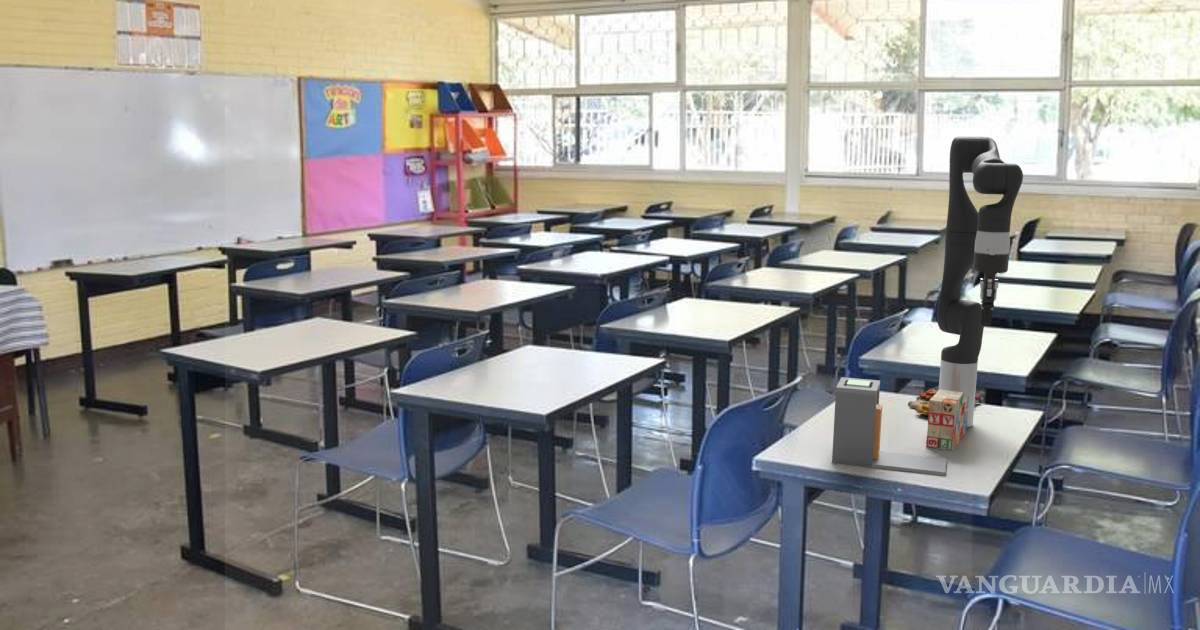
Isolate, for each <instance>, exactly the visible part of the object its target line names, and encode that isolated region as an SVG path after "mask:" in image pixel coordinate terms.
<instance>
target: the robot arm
mask: <svg viewBox="0 0 1200 630" xmlns="http://www.w3.org/2000/svg"><path fill="white" fill-rule="evenodd" d="M964 174H973V175H972V185H973V189H974V190H975V192H977V193H979V194H981V195H1003V196H1002V198H1001V199H1000V200H999V201H998V202H996V203H990V204H984V205H982V206H981V207H979V209H978V210H977V208H976V206H975V204H974V203H973V202H972V200H971V198H970V196H969V194H968V192H967V190H966V189H967V188H966V186H965V181H964ZM948 178H949V180H948V181H949V182H948V183H949V186H948V187H949V189H948V190H949V195H948V209H947V217H946V227H945V238H944V239H945V241H944V258H943V259H944V262H943V273H942V279H941V280H942V281H941V288H940V293H939V299H938V304H937V314H936V321H937V326H938V328H939V330H941V331H942V332H944V333H946V334H947V333H948V334H953V335H958V336H959V340H958V342H957V343H956V344H955V345H949V346H946V347H944V348H942V349H941V354H940V363H939V364H940V366H939V367H940V368H939V380H938V381H939V382H938V387H939V389H940V390H948V391H957V392H964V395H963V396H969V398H968V418H967V428H971V427H973V425H974V416H975V415H974V413H975V405H976V404H975V392H976V393H977V391H976V388H977V378H978V364H979V363H978V362H979V356H980V353H981V351H982V350H981V349H982V346H983V345H982V342H983V337H984V336H983V335H984V327H990V326H991V325H992V318H993V311H994V309H995V301H996V300H997V292H998V291H997V290H998V289H999V284H1000V283H999V281H1000V280H999V279H996V276H997V274H1004V273H1005V274H1006V273H1007V272H1008V270H1009V259H1010V247H1011V245H1010V244H1011V235H1010V234H1011V223H1012V222H1011V220H1012V214H1013V208H1014V204H1015V201H1016V200H1017V196H1018V194H1019V191H1020V189H1021V187H1022V184H1023V179H1024V174H1023V170H1022V168H1021V167H1020V165H1018V164H1017V163H1010V162H1008V163H1006V162H1004V161H1003V160H1002V159H1001V156H1000V152H999V147H998V144H997V143H996V141H995V139H993V138H991V137H989V136H961V135H960V136H955V137H954V138H953V139H952V142H951V143H950V149H949V177H948ZM971 269H973V271H975V272H979V273H984V275H983V276H984V277H983V278H980V279H979V286H980V287H979V288H980V293H979V298H980V300H981V301H980V302H981V303H979V302H978V301H973V300H965V299H961V293H962V292H961V291H962V287H963V282H964V280H965V278H966V276H967V275H968V273H969V271H970V270H971ZM974 404H975V405H974Z"/></svg>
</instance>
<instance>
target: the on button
mask: <svg viewBox="0 0 1200 630" xmlns="http://www.w3.org/2000/svg"><path fill="white" fill-rule="evenodd" d="M870 383H871V381H862V380H851V379H849V380H848V382H847V384H846V386H854V387H865V388H870Z"/></svg>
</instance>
